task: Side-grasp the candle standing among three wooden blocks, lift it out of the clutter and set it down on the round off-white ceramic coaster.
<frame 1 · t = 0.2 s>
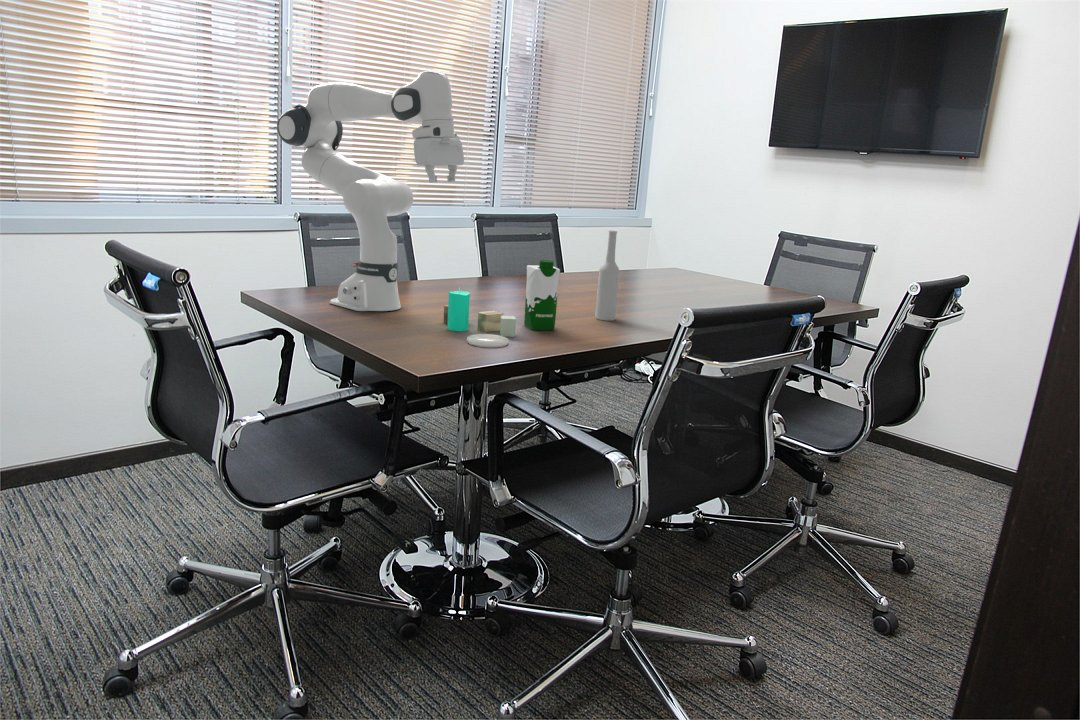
hand: (442, 182, 217), 40 cm above the table, tool pointing down, fingers open, 8 cm apart
milk carton: (539, 328, 226), on the table
bottle: (605, 319, 246), on the table
maple block: (490, 329, 219), on the table
sage block: (507, 334, 214), on the table
coaster: (487, 342, 203), on the table
walnut block: (454, 322, 225), on the table
candle: (457, 329, 217), on the table
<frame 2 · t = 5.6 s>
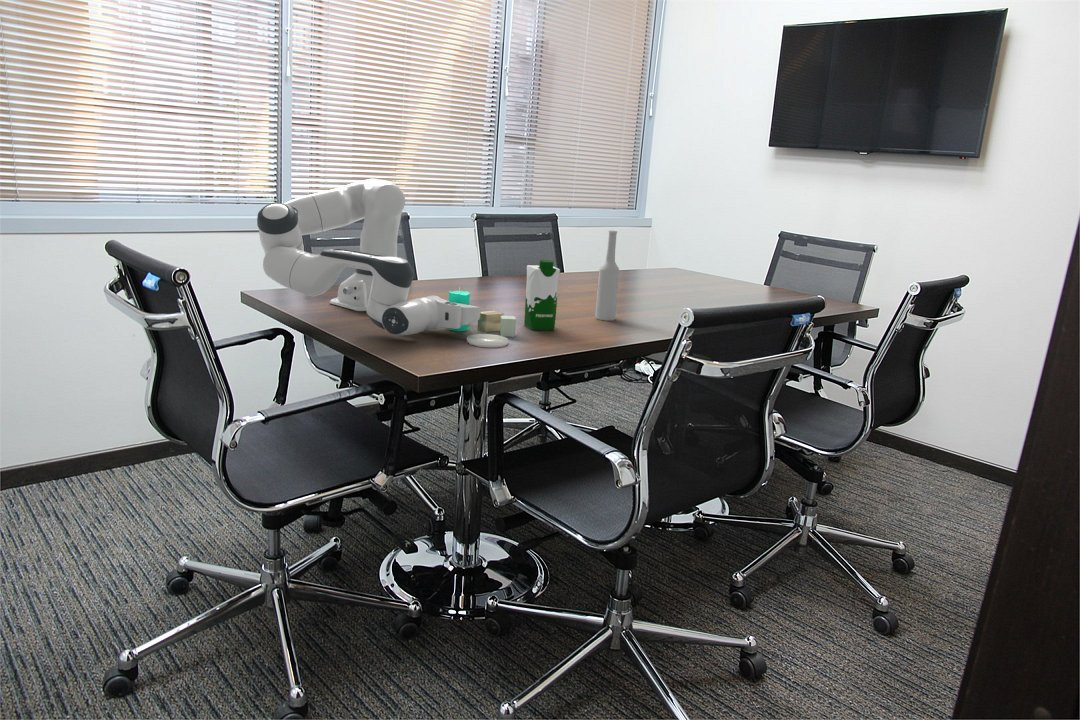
hand: (460, 305, 216), 7 cm above the table, tool horizontal, fingers open, 6 cm apart
candle: (457, 329, 217), on the table, touching gripper
everything else where it was.
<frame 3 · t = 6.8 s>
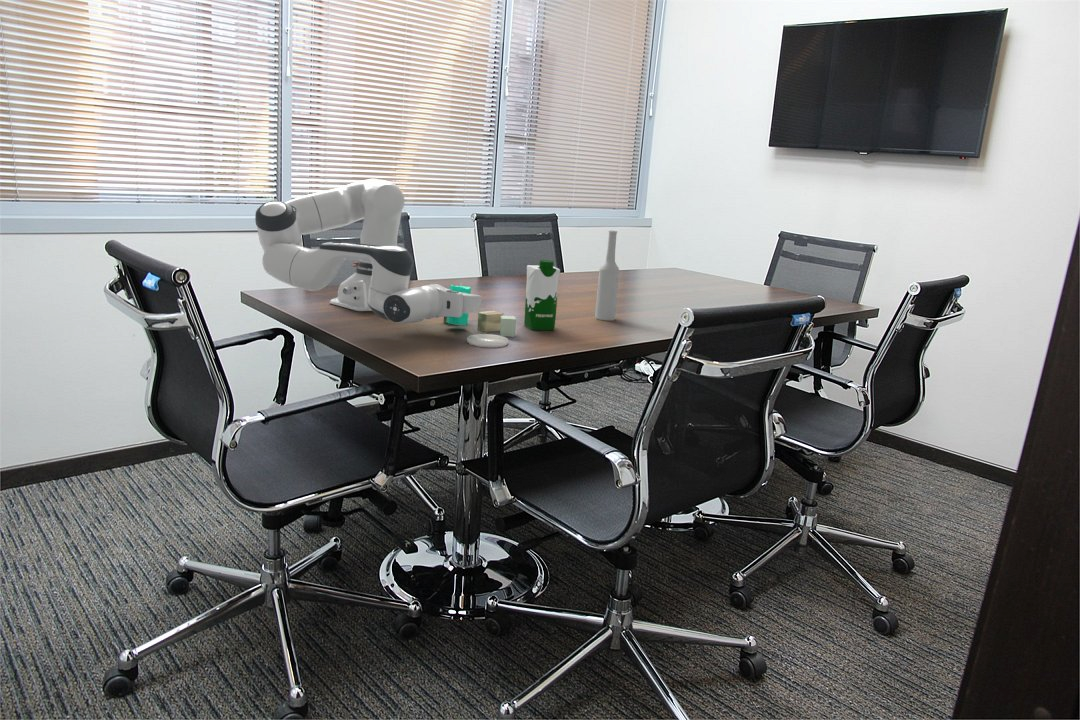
hand: (462, 294, 215), 10 cm above the table, tool horizontal, fingers closed on candle, 5 cm apart
candle: (456, 323, 215), point 2 cm above the table, touching gripper
everything else where it was.
when the fingers open (9 cm above the table, at t = 10.5 s): candle stays where it is, resting on coaster.
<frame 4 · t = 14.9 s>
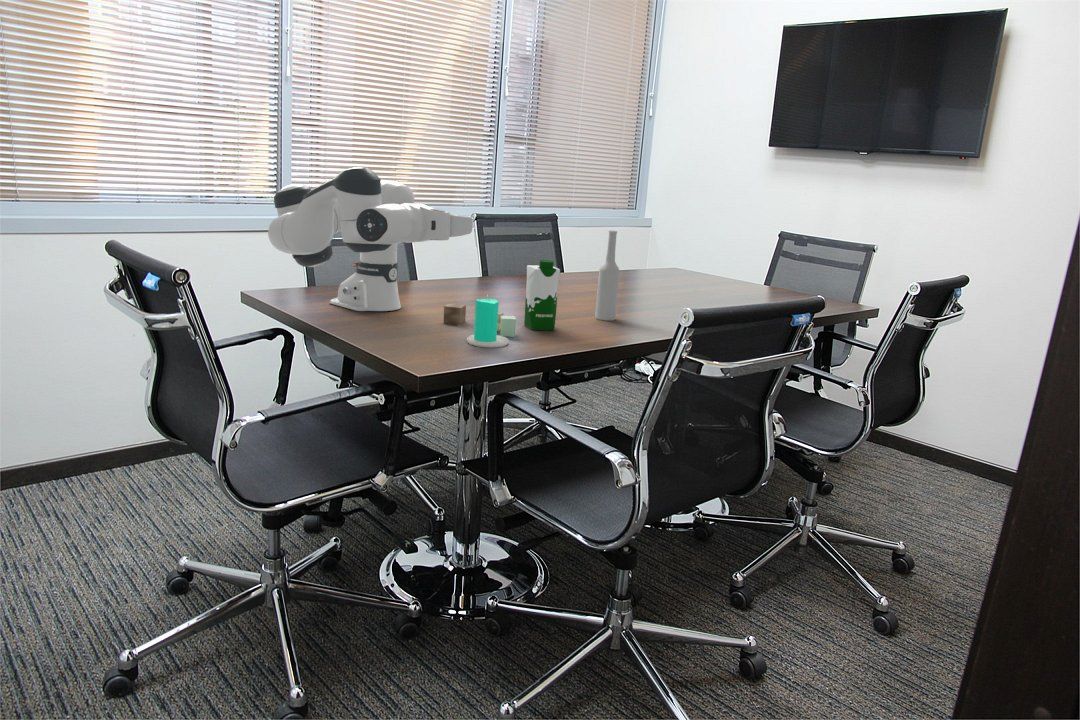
hand: (450, 220, 187), 32 cm above the table, tool horizontal, fingers open, 8 cm apart
candle: (485, 340, 202), point 1 cm above the table, touching coaster
everything else where it was.
at the end: candle inside the target area on the coaster (1.0 cm from its centre), point 0.8 cm above the coaster's base; candle tilted 0°; the gripper is holding nothing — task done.
